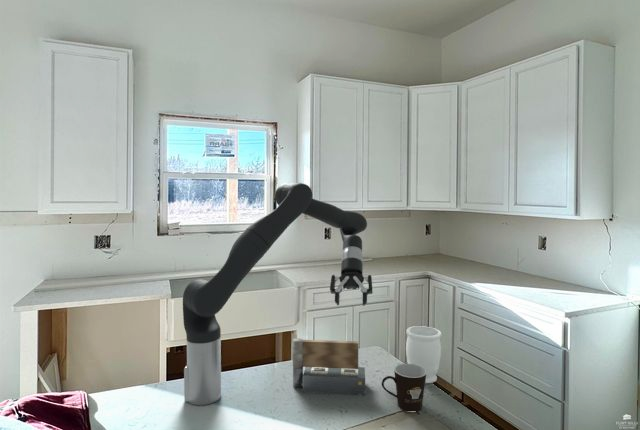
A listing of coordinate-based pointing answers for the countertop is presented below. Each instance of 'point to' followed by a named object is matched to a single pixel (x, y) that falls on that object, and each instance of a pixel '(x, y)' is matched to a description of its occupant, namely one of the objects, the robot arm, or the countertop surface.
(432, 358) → the jar
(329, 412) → the countertop surface
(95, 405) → the countertop surface
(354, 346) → the brown wooden board
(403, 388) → the coffee mug
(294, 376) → the swing post
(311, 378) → the case
